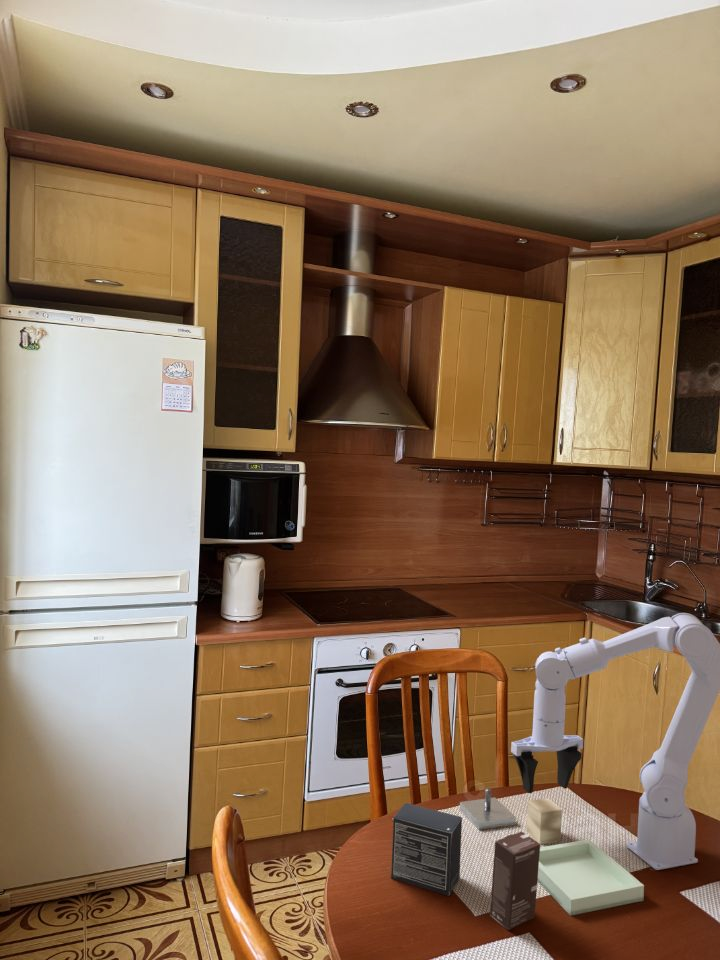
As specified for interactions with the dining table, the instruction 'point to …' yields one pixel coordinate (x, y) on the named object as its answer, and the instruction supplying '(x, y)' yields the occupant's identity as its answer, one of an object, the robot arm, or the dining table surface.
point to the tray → (586, 878)
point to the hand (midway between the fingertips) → (545, 788)
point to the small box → (426, 848)
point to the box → (514, 880)
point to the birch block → (544, 821)
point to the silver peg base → (487, 812)
